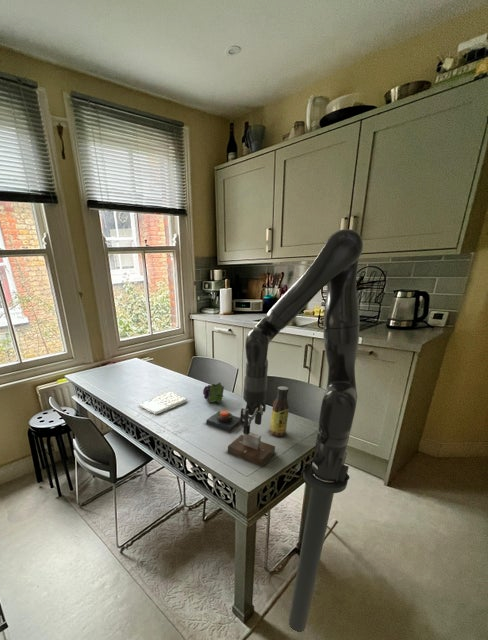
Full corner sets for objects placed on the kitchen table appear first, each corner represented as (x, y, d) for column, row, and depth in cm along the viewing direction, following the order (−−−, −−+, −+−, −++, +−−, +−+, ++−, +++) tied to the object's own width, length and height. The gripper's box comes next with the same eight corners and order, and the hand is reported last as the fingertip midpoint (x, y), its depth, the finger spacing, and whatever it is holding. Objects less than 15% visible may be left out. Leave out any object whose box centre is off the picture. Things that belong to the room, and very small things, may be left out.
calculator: (187, 401, 158) (187, 398, 158) (155, 415, 146) (155, 411, 146) (170, 394, 167) (170, 391, 167) (139, 406, 155) (138, 402, 155)
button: (230, 415, 136) (230, 411, 135) (225, 418, 134) (225, 415, 133) (223, 413, 138) (223, 409, 137) (218, 416, 136) (218, 412, 135)
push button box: (242, 422, 137) (242, 414, 136) (230, 432, 130) (230, 424, 129) (219, 415, 144) (219, 407, 143) (206, 424, 137) (206, 416, 136)
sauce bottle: (279, 438, 125) (284, 392, 116) (266, 432, 129) (270, 388, 121) (289, 433, 129) (294, 388, 120) (276, 427, 133) (280, 383, 125)
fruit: (212, 400, 166) (230, 403, 153) (195, 402, 160) (212, 405, 148) (211, 381, 165) (230, 382, 152) (194, 382, 159) (212, 384, 147)
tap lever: (260, 447, 114) (261, 435, 112) (257, 450, 113) (258, 437, 111) (245, 442, 118) (246, 430, 116) (242, 444, 117) (243, 432, 114)
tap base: (274, 452, 116) (275, 445, 115) (261, 466, 109) (262, 459, 108) (241, 440, 124) (241, 434, 123) (227, 452, 117) (227, 445, 116)
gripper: (255, 396, 98) (252, 440, 105) (275, 382, 108) (270, 423, 115) (234, 391, 103) (232, 433, 110) (255, 378, 113) (252, 418, 120)
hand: (252, 428), depth 113 cm, fingers open, 8 cm apart
